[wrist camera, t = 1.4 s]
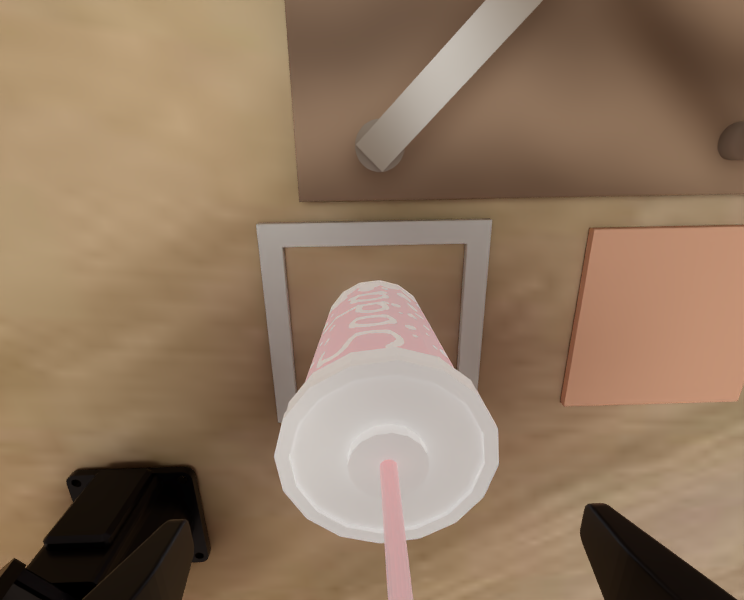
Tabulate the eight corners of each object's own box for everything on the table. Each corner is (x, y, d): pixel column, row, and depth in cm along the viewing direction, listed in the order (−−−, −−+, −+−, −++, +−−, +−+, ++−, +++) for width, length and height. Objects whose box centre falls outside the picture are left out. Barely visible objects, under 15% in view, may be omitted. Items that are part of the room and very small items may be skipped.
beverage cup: (447, 267, 19) (657, 551, 6) (431, 384, 21) (556, 790, 8) (312, 259, 18) (194, 540, 5) (309, 379, 20) (221, 793, 7)
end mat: (731, 396, 22) (737, 401, 21) (560, 401, 21) (563, 406, 21) (789, 224, 18) (797, 225, 18) (589, 227, 18) (594, 229, 18)
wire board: (766, 190, 18) (959, 209, 12) (303, 198, 17) (275, 222, 12) (869, -143, 14) (1219, -343, 8) (279, -143, 14) (220, -354, 8)
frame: (473, 412, 21) (475, 417, 21) (279, 417, 21) (278, 422, 21) (489, 218, 18) (491, 219, 18) (258, 222, 18) (256, 224, 17)
